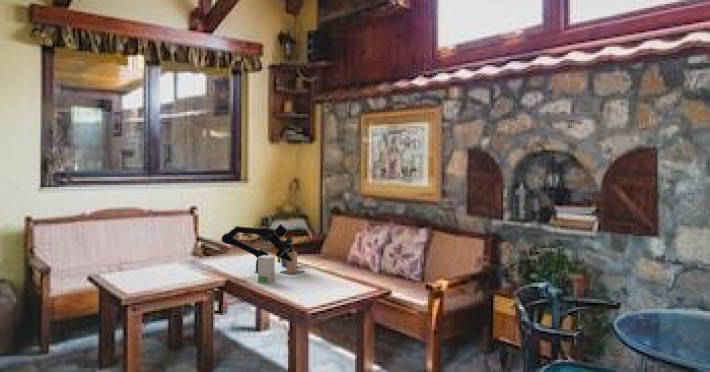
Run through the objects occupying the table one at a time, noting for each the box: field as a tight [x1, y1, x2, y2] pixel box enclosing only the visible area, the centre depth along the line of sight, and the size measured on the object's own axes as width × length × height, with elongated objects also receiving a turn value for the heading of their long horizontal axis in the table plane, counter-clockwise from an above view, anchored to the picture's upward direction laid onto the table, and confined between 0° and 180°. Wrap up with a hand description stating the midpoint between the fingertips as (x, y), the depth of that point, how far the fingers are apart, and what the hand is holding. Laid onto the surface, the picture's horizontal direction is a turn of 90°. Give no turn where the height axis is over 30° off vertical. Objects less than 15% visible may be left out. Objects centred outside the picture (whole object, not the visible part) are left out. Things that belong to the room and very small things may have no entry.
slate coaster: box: [279, 269, 305, 276], centre depth 339 cm, size 11×11×1 cm
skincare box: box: [257, 255, 276, 285], centre depth 315 cm, size 8×7×16 cm
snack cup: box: [277, 250, 296, 268], centre depth 357 cm, size 16×10×10 cm
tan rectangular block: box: [286, 251, 298, 272], centre depth 338 cm, size 5×5×12 cm
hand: (293, 259), depth 338 cm, fingers open, 9 cm apart
